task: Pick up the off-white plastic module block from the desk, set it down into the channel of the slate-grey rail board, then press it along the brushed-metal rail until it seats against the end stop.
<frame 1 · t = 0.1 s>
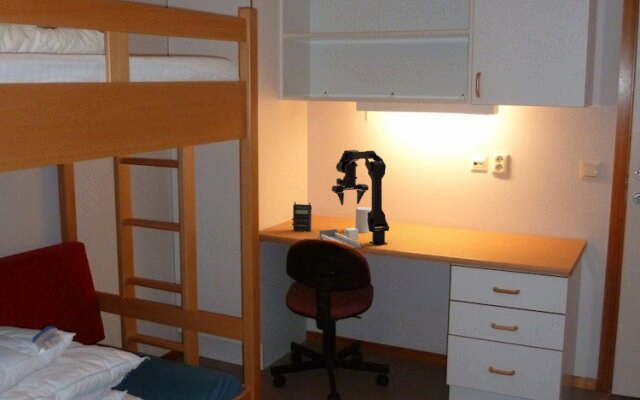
hand: (350, 204, 369), 15 cm above the table, fingers open, 9 cm apart
module: (351, 238, 357), on the table
rail board: (339, 243, 348), on the table
geiger counter: (301, 231, 374), on the table
cup: (363, 231, 375), on the table
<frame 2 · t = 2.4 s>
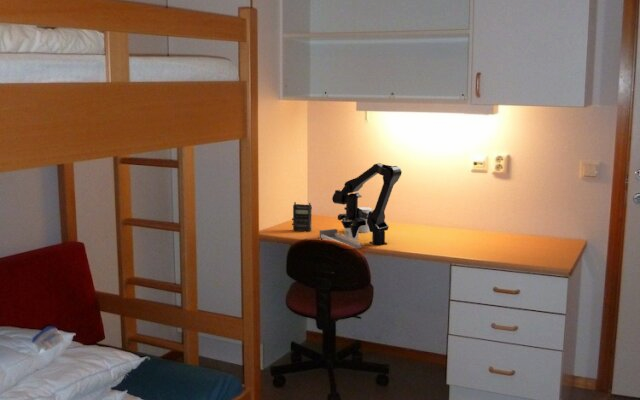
hand: (351, 236, 357), 1 cm above the table, fingers closed on module, 5 cm apart
module: (351, 238, 357), on the table, touching gripper
everything else where it was.
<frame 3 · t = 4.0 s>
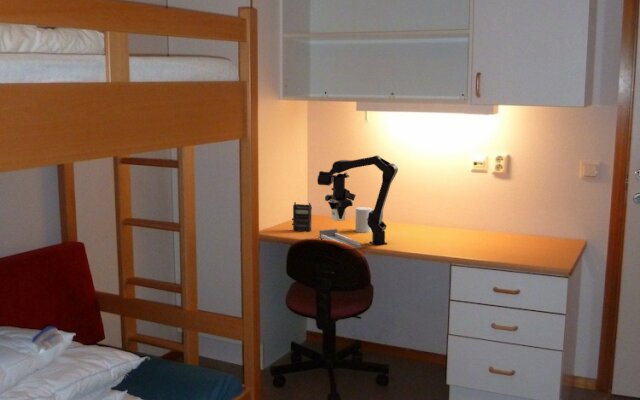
hand: (338, 217, 352), 11 cm above the table, fingers closed on module, 5 cm apart
module: (338, 219, 352), point 10 cm above the table, touching gripper
everything else where it was.
when the fingers open (3 cm above the table, at t = 5.8 s): module stays where it is, resting on rail board.
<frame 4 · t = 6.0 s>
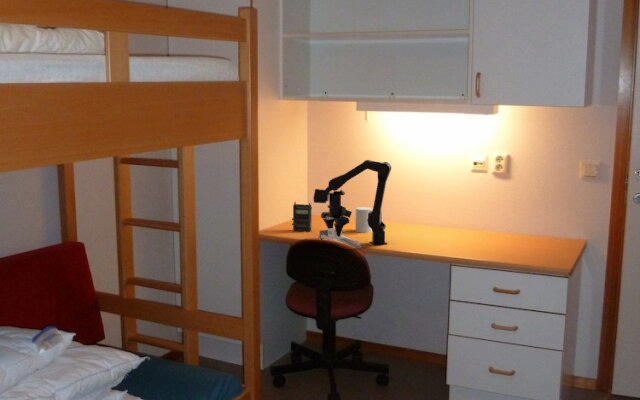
hand: (334, 235, 351), 3 cm above the table, fingers open, 7 cm apart
module: (334, 239, 352), point 1 cm above the table, touching rail board
everything else where it was.
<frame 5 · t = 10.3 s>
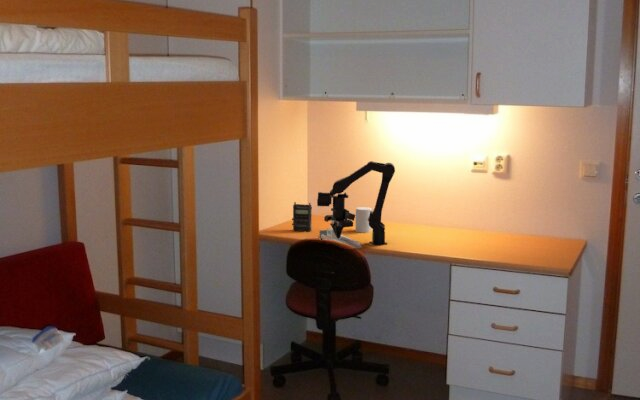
hand: (338, 238, 348), 2 cm above the table, fingers closed
module: (333, 238, 353), point 1 cm above the table, touching gripper
everything else where it was.
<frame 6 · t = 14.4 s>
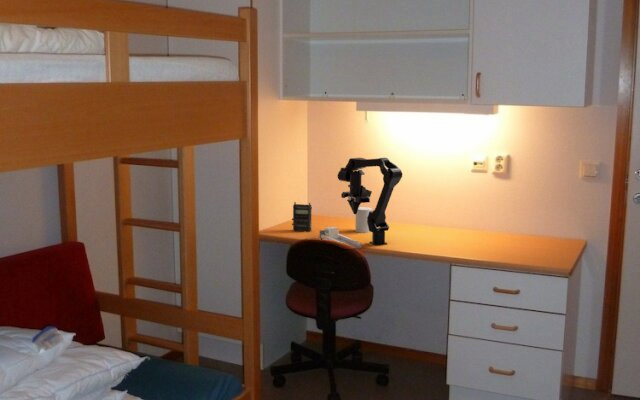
hand: (355, 214, 357), 12 cm above the table, fingers closed
module: (331, 237, 355), point 1 cm above the table, touching rail board
everything else where it was.
at the end: module 0.3 cm from the target spot on the rail board, point 1.0 cm above the rail board's base; module tilted 0° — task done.
